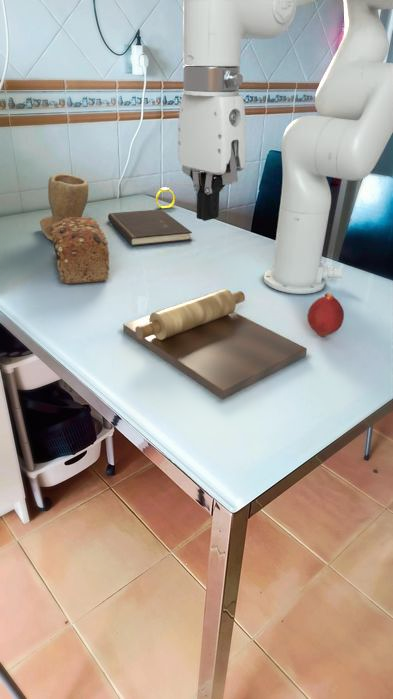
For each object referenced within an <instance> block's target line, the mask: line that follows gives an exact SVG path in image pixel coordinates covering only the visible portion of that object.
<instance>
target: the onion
mask: <svg viewBox="0 0 393 699" xmlns="http://www.w3.org/2000/svg"><path fill="white" fill-rule="evenodd" d="M344 318H345V312H344V308H343V306H342V305H341V303H340V301H339V300H338V299H337V298H336V297H334V295H333V294H332V292H326V293H325V294H324V296H321V297H320V298H318V299H316V300H315V301H314V302H313V303H312V304H311V305H310V307H309V309H308V311H307V320H306V321H307V322H308V325H309V326H310V328H311V329H312V330H313V331H314V332H315V333H316V334H317V336H319V337H320V338H323V337H327V336H329V335H331V334H334V333H335V332H336V331H338V330H339V329H340V328H341V327H342V325H343V322H344Z"/></svg>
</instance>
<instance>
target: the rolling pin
mask: <svg viewBox="0 0 393 699" xmlns="http://www.w3.org/2000/svg"><path fill="white" fill-rule="evenodd" d="M245 300H246V295H245V293H244V292H243V291H241V290H239V291H235V292H231V291H230V290H229V289H226V288H223V289H220V290H216V291H214V292H211V293H209V294H205V295H202V296H199V297H195V298H193V299H190V300H187V301H184V302H181V303H177V304H175V305H172V306H169V307H166V308H163V309H160V310H156V311H154V312H152V313H151V314H149V315H150V318H149V323H146V324H143V325H140V326H137V327H136V328H135V333H136V335H137V337H138V338H139V339H143V338H146V337H148V336H151V335H154V336H155V337H156V338H158V339H160V340H163V339H165V338H168V337H171V336H173V335H176V334H179V333H181V332H184V331H186V330H189V329H192V328H194V327H197V326H200V325H202V324H205V323H207V322H210V321H213V320H215V319H218V318H221V317H223V316H226V315H228V314H231V313H233V312H235V310H236V306H237V305H238V304H241V303H243V302H245Z"/></svg>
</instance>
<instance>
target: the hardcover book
mask: <svg viewBox="0 0 393 699" xmlns="http://www.w3.org/2000/svg"><path fill="white" fill-rule="evenodd" d="M107 219H108V220H107V221H108V222H110V223H111V224H112V225H113V226H114V228H115V229H116V230H117V231H118V232H119V233H120V234H121V235H122V237H124V239H125V240H126V241H127V242H128V243H129V244H130V245H131V246H132V247H141V246H152V245H161V244H171V243H178V242H179V243H180V242H182V243H183V242H191V241H192V239H191V234H192V231H191V230H190V229H188V228H187V227H186V226H184V225H183V224H182V223H180V222H179V221H178V220H177V219H175V218H174V217H172V216H171V215H170V214H168V213H167V212H166V211H164V210H163V208H160V209H147V210H146V209H145V210H136V211H122V212H121V211H120V212H109V213H108V215H107Z"/></svg>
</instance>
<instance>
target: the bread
mask: <svg viewBox="0 0 393 699" xmlns="http://www.w3.org/2000/svg"><path fill="white" fill-rule="evenodd" d="M50 232H51V237H52V240H53V241H52V240H51V241H52V245H53V250H54V254H55V259H56V264H57V265H56V266H57V270H58V275H59V279H60V282H61V283H63V284H71V285H72V284H74V285H75V284H84V283H99V282H100V283H101V282H104V281H106V280H108V277H109V271H110V251H109V247H108V245H109V242H108V240H107V237H106V234H105V233H104V231H103V230H102V229H101V228H100V225H99V223H98V220H96V219H94V218H92V217H83V216H82V217H68V218H62V219H61V220H60V221H58V222H57V223H55V224H53V225H52V226H51V231H50Z"/></svg>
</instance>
